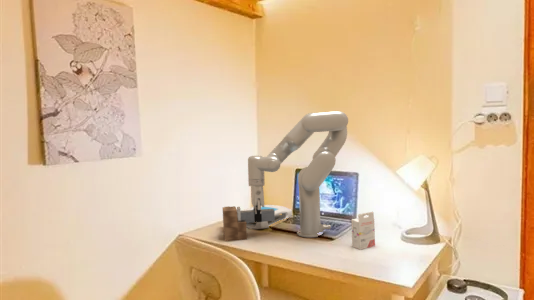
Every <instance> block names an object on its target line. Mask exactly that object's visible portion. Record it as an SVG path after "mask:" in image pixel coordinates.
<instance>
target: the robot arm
mask: <svg viewBox="0 0 534 300" xmlns="http://www.w3.org/2000/svg"><path fill="white" fill-rule="evenodd" d="M348 124H349V117H348V115H347V114H346V113H345V111H344V112H343V111H341V110H337V111H336V110H335V111H325V112H309V113H306V114H305V115H304V116H303V117H302V118H301V119H300V120H299V121H298V122H297V123H296V124H295V125H294V126H293V128H292V129H290V130H289V132H287V134H286V135H285V136H284V137H283V138H282V139H281V141H280V142H279V143H278V144H277V145H276V146H275V148H273V149H272V150H271V152H269V153H268V155H267V156H263V155H251V156H248V158H247V174H248V180H247V181H248V187H250V199H251V206H252V207H253V210H255V222H254V223H256V222H262V213H261V206H262V207H264V205H265V193H264V187H265V183H266V182H265V172H267V173H268V172H269V173H274V172H275V173H276V172H278V171H279V169H280V168H281V165H282V163H283V162H285V160H287V158H288V157H289V156H290V155H291V154H292V153H294V152H295V151H297V150H299V149H300V148H301V147H302V146H303V145H304V144H305V143H306V142H307V141H308V139H309V138H310V137H311V136H313V134H314V133H317V132H318V133H323V132H328V133H327V136H326V137H325V138H324V140H323V141H322V143H321V145H320V146H319V147H318V148H317V149H316V151H315V152H314V153H313V155H312V160H311V161H310V163H309V164H308V166H305V167H303V168H302V169H300V171H299V173H298V176H297V182H298V194H299V195H298V197H299V199H298V200H299V230H300V232H301V233H299V232H296V234H297V236H299V237H301V238H306V239H307V238H310V239H311V238H319V237H318V234H317V233H319V232H322V231H325V230H331V228H332V227H331V224H326V223H325V224H322V223H321V199H320V198H321V196H320V187H321V186H322V184H323V183H324V182H325V181H326V179H327V178H328V176H329V175H330V173H331V172H332V171H333V170H334V169H335V165H336V157H337V155H338V154H339V152H340V151H341V150H342V148H343V146H344V145H345V143H346V140H347V137H348Z"/></svg>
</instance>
